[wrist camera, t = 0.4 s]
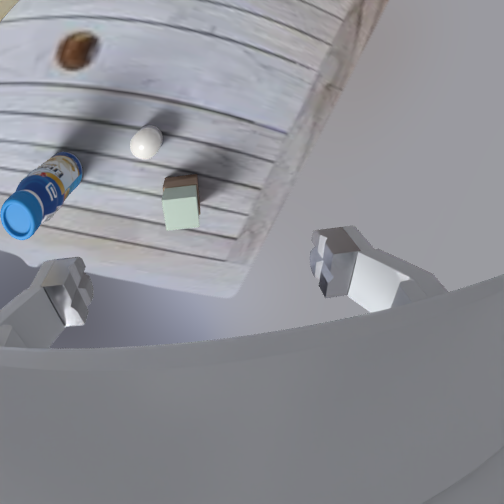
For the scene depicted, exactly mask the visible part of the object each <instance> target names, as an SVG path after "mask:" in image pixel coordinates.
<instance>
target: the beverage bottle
mask: <svg viewBox="0 0 504 504" xmlns="http://www.w3.org/2000/svg"><path fill="white" fill-rule="evenodd" d="M81 179H82V166H81V163H80V161H79V160H78V158H77V157H76V156H75V155H73V154H71V153H69V152H60V153H57V154H55V155H54V156H53V157H51V158H50V159H49V160H47V161H46V162H45V163H43V164H42V165H41V166H39V167H38V168H37V169H34V170H33V171H31V172H30V173H29V174H28V175H27V177H25V178H24V179H23V180H22V181H21V182H20V183H19V185H18V187H17V189H16V192H15V193H14V194H12V195H11V196H10V197H9V198H8V199H7V200H6V201H5V202H4V204H3V206H2V208H1V221H2V224H3V226H4V228H5V230H6V231H7V232H8V234H10V235H11V236H12V237H14V238H16V239H19V240H25V239H28V238H30V237H31V236H32V235H33V234H34V233H35V231H36V230H37V229H38V227H39V226H40V224H42V223H44V222H46V221H48V220H49V219H51V218H52V217H53V215H54V214H55V213H56V212H57V211H58V210H59V209H60V208H61V206H62V204H63V202H64V200H65V199H66V198H67V197H68V196H69V194H70V193H71V192H72V191H73V190H74V189H75V188H76V187H77V186H78V185H79V183H80V181H81Z"/></svg>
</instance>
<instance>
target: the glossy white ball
mask: <svg viewBox="0 0 504 504" xmlns="http://www.w3.org/2000/svg"><path fill="white" fill-rule="evenodd" d="M162 142H163V135H162V132H161V130H160V129H159V128H157V127H156V126H153V125H147V126H144V127H142V128H141V129H140V130H139V131H138V132H137V133H136V134H135V135H134V136H133V138H132V139H131V142H130V149H131V152H132V153H133V155H134V156H136V157H137V158H139V159H143V160H146V159H150V158H152V157H154V156H155V155H156V154H157V152H158V150H159V148H160V146H161V144H162Z"/></svg>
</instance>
